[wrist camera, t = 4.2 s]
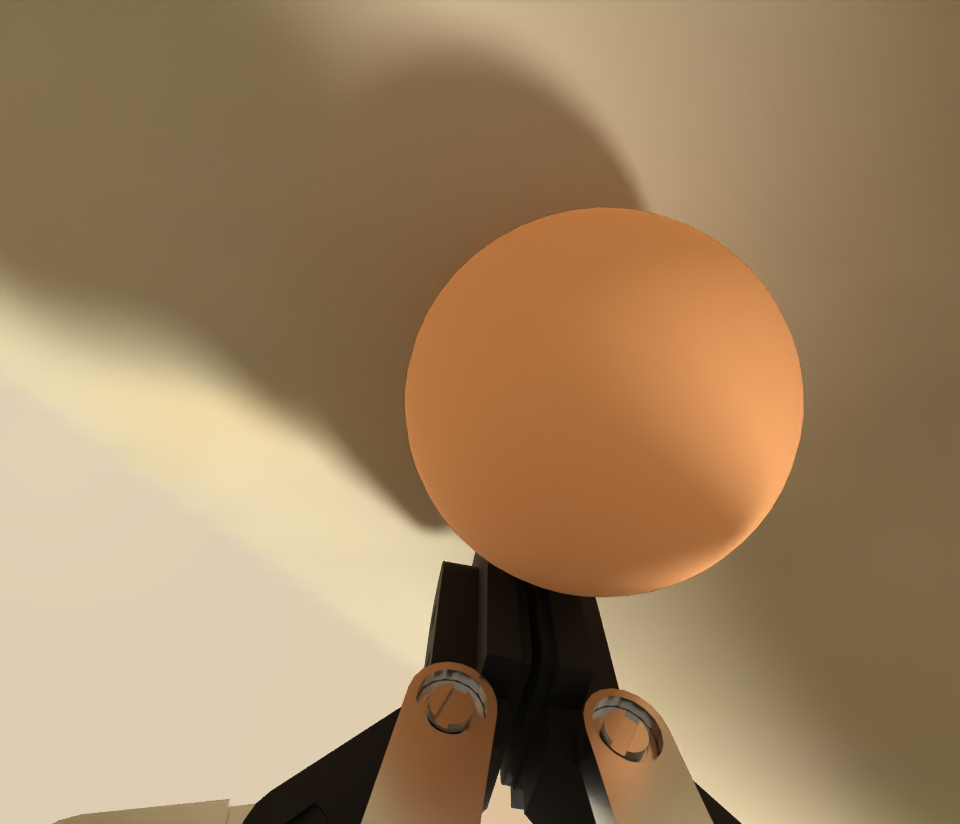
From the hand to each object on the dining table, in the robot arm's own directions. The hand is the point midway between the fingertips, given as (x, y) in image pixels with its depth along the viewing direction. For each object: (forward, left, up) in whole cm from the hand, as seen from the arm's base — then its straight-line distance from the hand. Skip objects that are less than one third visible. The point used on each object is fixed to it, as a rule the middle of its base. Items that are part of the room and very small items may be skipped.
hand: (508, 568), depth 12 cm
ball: (+5, 0, +1) cm, 5 cm away
